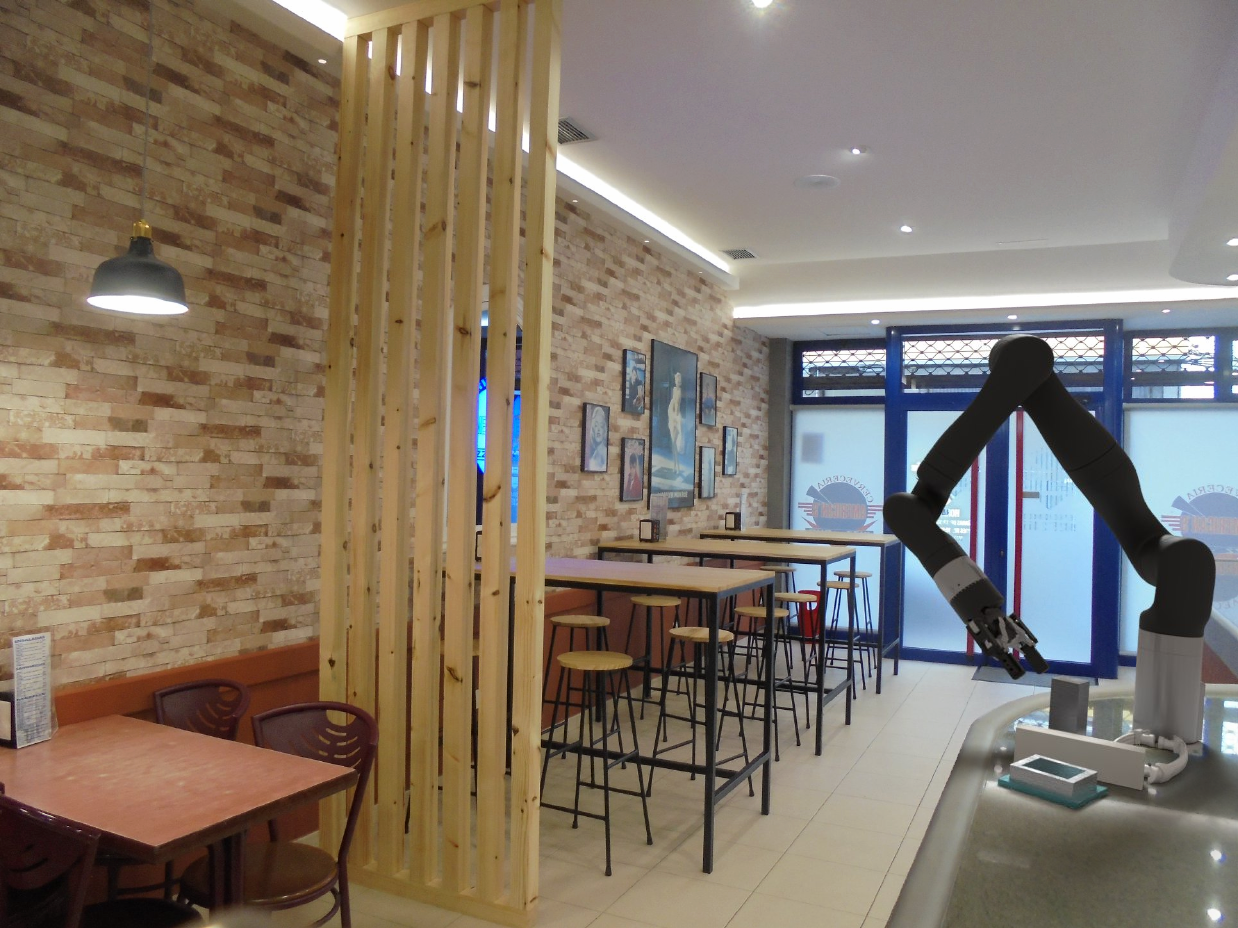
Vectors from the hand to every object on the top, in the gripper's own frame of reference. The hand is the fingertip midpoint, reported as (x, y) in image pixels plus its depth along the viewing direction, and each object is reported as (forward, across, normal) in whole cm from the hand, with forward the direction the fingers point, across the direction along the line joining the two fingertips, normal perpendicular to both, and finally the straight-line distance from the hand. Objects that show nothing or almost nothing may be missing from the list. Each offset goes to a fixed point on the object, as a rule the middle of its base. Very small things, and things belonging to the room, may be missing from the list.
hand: (1032, 674), depth 139 cm
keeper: (+16, -20, -1) cm, 25 cm away
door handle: (+18, +8, -2) cm, 20 cm away
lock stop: (+12, 0, +4) cm, 12 cm away
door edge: (+15, -9, 0) cm, 18 cm away
